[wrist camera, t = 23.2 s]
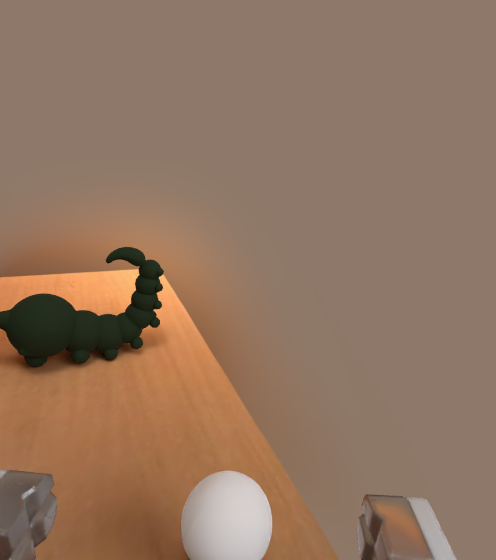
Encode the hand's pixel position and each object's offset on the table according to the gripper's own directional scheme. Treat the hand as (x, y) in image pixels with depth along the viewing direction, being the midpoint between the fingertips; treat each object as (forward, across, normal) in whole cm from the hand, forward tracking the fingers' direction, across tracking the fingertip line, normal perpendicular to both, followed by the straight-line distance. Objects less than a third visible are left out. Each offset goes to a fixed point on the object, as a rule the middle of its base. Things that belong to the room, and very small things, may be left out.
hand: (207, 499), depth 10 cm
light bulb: (+12, 0, +25) cm, 28 cm away
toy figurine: (+44, +25, +25) cm, 57 cm away
